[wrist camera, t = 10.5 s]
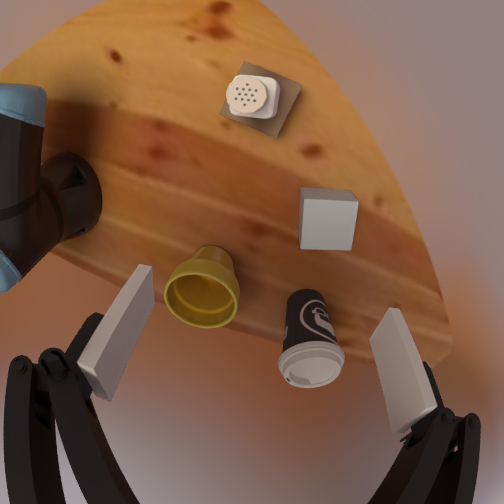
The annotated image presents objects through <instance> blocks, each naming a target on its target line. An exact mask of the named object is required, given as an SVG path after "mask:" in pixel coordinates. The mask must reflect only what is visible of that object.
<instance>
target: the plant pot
mask: <svg viewBox="0 0 504 504" xmlns="http://www.w3.org/2000/svg"><path fill="white" fill-rule="evenodd" d="M239 298H240V287H239V284H238V281H237V279H236V277H235V275H234V268H233V262H232V259H231V257H230V255H229V254H228V253H227V252H226V251H225V250H223V249H222V248H219V247H216V246H204V247H201V248H200V249H198V250H197V251H196V252H195V253H194V254H193V255H192V256H191V257H190V258H189V259H188V260H187V261H185V262H183V263H181V264H179V265H178V266H177V267H176V268H175V269H174V270H173V272H172V274H171V275H170V277H169V279H168V281H167V283H166V285H165V288H164V300H165V303H166V305H167V307H168V308H169V310H170V311H171V312H172V313H173V314H174V315H175V316H176V317H177V318H178V319H180V320H181V321H183V322H185V323H186V324H189V325H191V326H195V327H199V328H217V327H221V326H223V325H225V324H227V323H229V322H230V321H231V320H232V319H233V318H234V317H235V315H236V313H237V310H238V305H239Z"/></svg>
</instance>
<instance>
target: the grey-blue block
mask: <svg viewBox="0 0 504 504" xmlns="http://www.w3.org/2000/svg"><path fill="white" fill-rule="evenodd" d="M358 203H359V202H358V200H357V199H356V198H355V197H354V195H353V194H352V193H351V192H350V190H342V189H325V188H304V187H301V189H300V208H299V224H298V236H299V242H300V249H317V250H351V247H352V242H353V236H354V230H355V224H356V217H357V210H358Z"/></svg>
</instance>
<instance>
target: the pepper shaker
mask: <svg viewBox="0 0 504 504" xmlns="http://www.w3.org/2000/svg"><path fill="white" fill-rule="evenodd" d="M279 94H280V86H279V84H278V83H277V81H276V80H274V79H273V78H269V77H262V76H252V75H238V76H235V78H234V79H233V81H232V82H231V83H230V84H229V86H228V89H227V91H226V98H227V103H228V104H229V105H230V107H229V109H230V112H231V113H232V114H234V115H236V116H245V117H253V118H262V119H268V118H271V117H274V116H275V115H276V113H277V108H278V101H279Z"/></svg>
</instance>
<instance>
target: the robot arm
mask: <svg viewBox="0 0 504 504" xmlns="http://www.w3.org/2000/svg"><path fill="white" fill-rule="evenodd" d="M46 106H47V94H46V92H45V90H44V89H43V88H41V87H38V86H33V85H25V84H9V83H0V293H5V292H7V291H9V290H10V289H11V288H12V287H13V286H14V285H15V284H16V283H17V282H20V281H21V280H22V279H23V277H24V276H25V275H26V274H27V273H28V272H29V271H30V270H31V269H32V268H33V267H34V266H35V265H36V264H37V263H38V262H39V261H40V260H41V259H42V258H43V257H44V256H45V255H46V254H47V253H48V252H49V251H50V250H51V249H52V248H53V247H54V246H56V245H57V244H58V243H59V242H62V241H65V240H68V239H72V238H75V237H78V236H81V235H83V234H84V233H86V232H87V231H88V230H89V229H90V228H92V227H93V226H94V225H95V223H96V222H97V220H98V218H99V215H100V212H101V206H102V196H101V190H100V185H99V182H98V179H97V177H96V175H95V173H94V171H93V170H92V168H91V167H90V165H89V164H88V163H87V162H86V161H85V160H84V159H83V158H81V157H80V156H78V155H76V154H73V153H61V154H58V155H56V156H53V157H51V158H50V159H48V160H47V161H46V162H45V163H44V164H43V165H42V166H41V167H40V165H41V150H42V141H43V133H44V127H45V126H46V122H45V114H46ZM154 306H155V300H154V286H153V269H152V266H147V265H143V264H139V265H138V266H137V268H136V269H135V271H134V272H133V273H132V275H131V276H130V278H129V279H128V281H127V282H126V284H125V285H124V287H123V288H122V290H121V291H120V293H119V294H118V296H117V297H116V299H115V300H114V302H113V303H112V305H111V306H110V308H109V309H108V311H107V313H106V314H105V315H102V314H99V313H96V312H95V313H94V314H92V315H91V316H89V317H88V318H87V319H86V321H85V322H84V324H83V325H82V328H80V330H79V331H78V334H77V335H76V336H75V338H74V339H73V341H72V342H71V344H70V346H69V347H68V349H67V351H66V352H65V353H64V352H63V351H62V350H61V349H58V348H49V349H47V350H45V351H44V352H43V353H42V354H41V355H40V357H39V361H38V364H33V363H32V362H31V360H30V359H29V358H28V357H27V356H23V355H21V356H17V357H15V358H14V359H13V360H12V361H11V364H10V366H9V372H8V378H7V386H6V395H5V408H4V462H5V474H6V482H7V489H8V495H9V501H10V504H66V502H65V497H64V492H63V487H62V482H61V476H60V471H59V464H58V455H57V445H56V432H55V419H56V423H57V426H58V430H59V433H60V437H61V439H62V443H63V445H64V449H65V452H66V454H67V457H68V460H69V463H70V465H71V468H72V470H73V473H74V475H75V478H76V480H77V482H78V484H79V487H80V489H81V491H82V493H83V495H84V497H85V499H86V501H87V503H88V504H140V503H139V502H138V500H137V498H136V497H135V495H134V493H133V491H132V490H131V488H130V486H129V484H128V483H127V481H126V479H125V477H124V475H123V473H122V471H121V470H120V467H119V466H118V463H117V461H116V459H115V457H114V455H113V453H112V451H111V449H110V446H109V444H108V442H107V439H106V437H105V435H104V432H103V430H102V428H101V425H100V422H99V420H98V417H97V414H96V412H95V409H94V406H93V403H92V400H91V398H90V395H91V393H92V391H93V392H94V393H95V395H96V396H97V397H100V398H102V399H105V400H107V401H110V402H111V400H112V398H113V396H114V393H115V391H116V388H117V386H118V384H119V381H120V379H121V377H122V374H123V372H124V370H125V368H126V365H127V362H128V361H129V359H130V356H131V354H132V352H133V350H134V347H135V345H136V343H137V341H138V339H139V337H140V335H141V333H142V330H143V328H144V326H145V324H146V322H147V320H148V318H149V316H150V314H151V312H152V310H153V308H154ZM369 341H370V345H371V348H372V351H373V355H374V359H375V362H376V366H377V369H378V373H379V377H380V381H381V385H382V389H383V394H384V398H385V402H386V407H387V411H388V415H389V420H390V425H391V430H392V434H397V433H403V432H405V431H406V430H408V429H409V428H411V430H412V432H411V433H409V434H408V435H406V436H405V437H403V438H402V439H401V440H400V442H402V441H404V440H405V439H406V441H405V442H404V443H403V444H404V445H403V447H402V449H401V451H400V453H399V454H398V456H397V458H396V460H395V462H394V463H393V465H392V467H391V469H390V470H389V472H388V474H387V475H386V477H385V478H384V480H383V482H382V483H381V485H380V486H379V488H378V489H377V491H376V492H375V494H374V495H373V497H372V498H371V500H370V501H369V502H368V504H472V501H473V496H474V491H475V485H476V479H477V472H478V463H479V451H480V433H481V431H480V429H481V424H480V419H479V418H478V416H477V415H476V414H474V413H469V414H468V415H467V416H465V417H464V418H463V417H458V416H455V415H454V413H453V411H451V409H449V408H445V407H444V405H443V402H442V399H441V396H440V393H439V390H438V387H437V385H436V382H435V379H434V378H433V377H434V376H433V373H432V371H431V368H430V367H429V366H428V364H427V363H426V362H422V361H421V358H420V356H419V353H418V351H417V348H416V346H415V343H414V341H413V338H412V336H411V334H410V331H409V329H408V327H407V325H406V322H405V320H404V318H403V316H402V313H401V311H400V309H397V308H388V310H387V312H386V313H385V315H384V317H383V318H382V320H381V322H380V323H379V325H378V327H377V328H376V330H375V331H374V333H373V334H372V336H371V337H370V339H369ZM456 446H458V449H457V451H456V452H454V448H455V447H456Z"/></svg>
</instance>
